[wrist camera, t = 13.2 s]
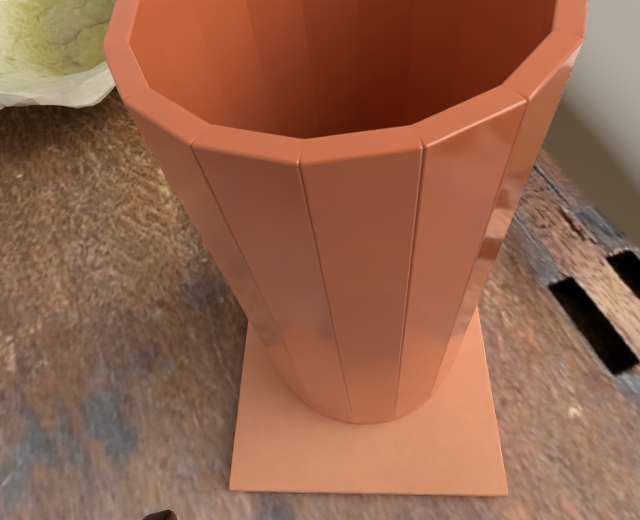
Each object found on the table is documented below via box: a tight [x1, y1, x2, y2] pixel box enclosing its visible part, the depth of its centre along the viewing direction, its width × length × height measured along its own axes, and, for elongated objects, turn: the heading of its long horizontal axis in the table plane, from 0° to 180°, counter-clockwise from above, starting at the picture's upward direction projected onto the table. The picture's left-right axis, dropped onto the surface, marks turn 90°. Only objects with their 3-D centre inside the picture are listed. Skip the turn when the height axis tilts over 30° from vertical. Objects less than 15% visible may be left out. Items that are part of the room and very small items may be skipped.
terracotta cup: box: [102, 0, 588, 425], centre depth 12 cm, size 7×7×13 cm
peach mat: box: [229, 306, 508, 497], centre depth 18 cm, size 11×9×1 cm
